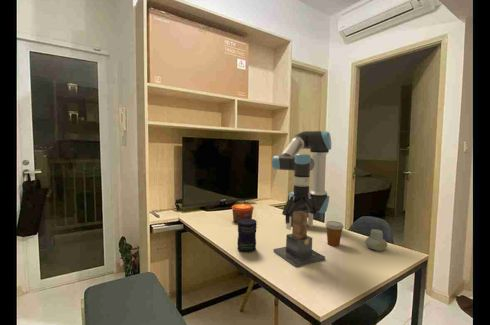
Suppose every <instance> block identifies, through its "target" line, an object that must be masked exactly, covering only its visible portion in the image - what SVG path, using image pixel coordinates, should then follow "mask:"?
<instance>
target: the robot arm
mask: <svg viewBox="0 0 490 325" xmlns="http://www.w3.org/2000/svg"><path fill="white" fill-rule="evenodd" d="M304 149H305V150H309V152H310V153H311V154H310V153H299V152H300V151H301V150H304ZM330 150H332V137H331V133H330V132H329V131H325V130H324V131H322V130H317V131H316V130H315V131H313V130H306V131H304V130H303V131H300V132H298V133H297V134H294V136H292V137H291V138H290V140H289V144H288V145H287V146H286V147H285V149H284V150H283V151H282V152H281V154H280V155H274V156H273V157H272V158H271V159H272V160H271V167H272V169H274V170H280V171H294V172H293V184H294V185H293V191H291V192H289V195H288V197H287V201H286V203H285V205H284V206H285V207H284V208H283V209H282V213H281V215H283V216H284V217H285V225H286V226H285V227H286V229H287V230H288V231H291V230H292V227H293V212H296V211H303V212H305V213H308V217H307V226H309V227H312V228H313V226H314V219H315V215H316V213H323V214H325V213H326V212H327V210H328V208H329V203H330V196H329V195H328V192H327V191H326V172H327V171H326V170H327V168H326V166H327V162H326V161H327V155H328V154H329V151H330ZM311 156H312V157H311ZM310 175H311V176H310ZM310 177H311V178H310ZM310 179H311V189H310V186H309V185H310Z"/></svg>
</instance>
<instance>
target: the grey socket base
mask: <svg viewBox="0 0 490 325" xmlns="http://www.w3.org/2000/svg"><path fill="white" fill-rule="evenodd" d="M285 241H286V242H285V244H286V245H285V246H282V247H277V248H273V253H275V254H276V256H279V257H280V258H282V259H283V260H284V261H286V262H287V263H289V264H290V265H292V266H293V267H295V268H297V267H301V265H302V266H305V264H306V265H309V264H313V263H317V262H322V261H325V260H326V256H325V255H323V254H321V253H319V252H317V251H315V250H314V249H313V237H312V236H309V235H307V238H302V239H297V238H295V237H293V236H292V233H289V234H286V240H285Z"/></svg>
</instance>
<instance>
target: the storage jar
mask: <svg viewBox="0 0 490 325" xmlns="http://www.w3.org/2000/svg"><path fill="white" fill-rule="evenodd" d="M237 234H238V235H237V243H236V244H237V250H238V252H240V253H245V254H247V253H248V254H249V253H253V252H255V251H256V250H257V248H256V246H257V236H256V235H257V220H256V219H253V218H252V219H248V218H245V219H240V220H238V223H237Z"/></svg>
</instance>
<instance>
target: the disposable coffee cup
mask: <svg viewBox="0 0 490 325" xmlns="http://www.w3.org/2000/svg"><path fill="white" fill-rule="evenodd" d="M325 227H326V240H327V245H329V246H332V247H339V246H340V245H341V238H342V233H343V229H344V225H343V223H342V222H339V221H336V220H335V221H334V220H329V221H326V223H325Z"/></svg>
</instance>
